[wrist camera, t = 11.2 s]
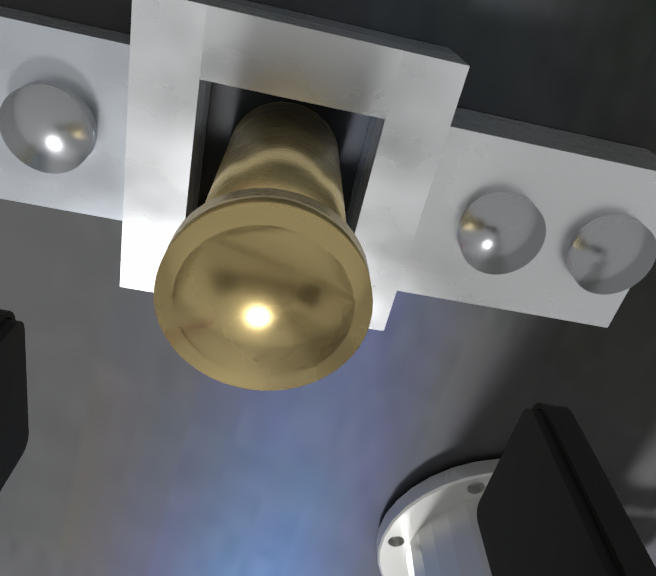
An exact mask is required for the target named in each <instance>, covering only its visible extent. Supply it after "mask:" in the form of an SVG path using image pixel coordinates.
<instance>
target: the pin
mask: <svg viewBox="0 0 656 576" xmlns="http://www.w3.org/2000/svg"><path fill="white" fill-rule="evenodd" d="M154 305H155V312H156V315H157V318H158V322H159V325H160V327H161V329H162V331H163V333H164V335H165V337H166V338H167V340H168V341H169V343H170V344H171V346H172V347H173V348H174V349H175V350H176V351H177V353H178V354H179V355H180V356H181V357H182V358H183V359H185V360H186V361H187V362H188V363H189V364H190V365H192V366H193V367H195V368H196V369H197V370H199V371H200V372H202V373H204V374H206V375H207V376H209V377H211V378H213V379H216V380H218V381H220V382H223V383H226V384H229V385H232V386H236V387H240V388H245V389H252V390H284V389H290V388H295V387H300V386H303V385H306V384H310V383H312V382H315V381H317V380H319V379H322V378H324V377H325V376H327V375H329V374H330V373H332V372H334V371H335V370H337V369H338V368H339V367H341V366H342V365H343V364H344V363H345V362H346V361H347V360H348V359H349V358H350V357H351V356H352V355H353V354H354V353H355V351H356V350H357V349H358V348H359V346H360V345H361V343H362V341H363V339H364V338H365V336H366V333H367V331H368V328H369V326H370V321H371V317H372V310H373V295H372V286H371V280H370V274H369V268H368V263H367V259H366V255H365V253H364V251H363V248H362V246H361V244H360V242H359V240H358V238H357V237H356V235H355V233H354V232H353V231H352V230H351V228H350V227H349V226H348V225H347V223H346V216H345V207H344V198H343V189H342V179H341V170H340V161H339V152H338V145H337V141H336V138H335V136H334V133H333V132H332V130H331V128H330V126H329V125H328V124H327V122H326V121H325V120H324V119H323V118H322V117H321V116H320V115H319V114H317V113H316V112H315V111H313V110H311V109H310V108H308V107H306V106H303V105H301V104H297V103H294V102H287V101H277V102H270V103H267V104H263V105H261V106H258V107H256V108H255V109H253V110H251V111H250V112H249V113H247V114H246V115H245V116H244V117H243V118H242V119H241V120H240V122H239V123H238V124H237V126H236V128H235V129H234V131H233V134H232V136H231V139H230V141H229V144H228V146H227V149H226V151H225V154H224V156H223V159H222V161H221V164H220V166H219V169H218V172H217V174H216V177H215V179H214V182H213V184H212V187H211V189H210V192H209V194H208V197H207V199H206V202H205V204H203V205H201V206H200V207H199V208H197V209H196V210H195V211H193V212H192V213H191V214H190V215H189V216H188V217H187V218H186V219H185V220H184V221H183V222H182V223H181V225H180V226H179V227H178V229H177V230H176V232H175V233H174V235H173V237H172V239H171V241H170V243H169V245H168V247H167V250H166V252H165V254H164V256H163V258H162V260H161V263H160V265H159V268H158V271H157V274H156V278H155V284H154Z"/></svg>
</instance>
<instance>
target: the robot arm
mask: <svg viewBox="0 0 656 576" xmlns="http://www.w3.org/2000/svg"><path fill="white" fill-rule="evenodd" d="M28 434H29V429H28V404H27V378H26V353H25V329H24V324H23V322H21V321H16V320H15V316H14V314H13V312H11V311H7V310H1V309H0V491H1V489H2V487H3V486H4V484H5V482H6V481H7V479H8V478H9V476H10V474H11V473H12V471H13V469H14V468H15V466H16V464H17V463H18V461H19V459H20V458H21V456H22V454H23V452H24V450H25V448H26V445H27V441H28ZM376 546H377V558H378V565H379V568H380V572H381V575H382V576H656V567H655V566H654V564H653V562H652V560H651V558H650V556H649V554H648V553H647V551H646V549H645V547H644V545H643V543H642V541H641V540H640V538H639V536H638V534H637V532H636V530H635V529H634V527H633V525H632V523H631V521H630V519H629V517H628V516H627V514H626V512H625V510H624V508H623V506H622V504H621V503H620V501H619V499H618V497H617V495H616V493H615V491H614V490H613V488H612V486H611V484H610V482H609V480H608V478H607V477H606V475H605V473H604V471H603V469H602V467H601V465H600V464H599V462H598V460H597V458H596V456H595V454H594V452H593V451H592V449H591V447H590V445H589V443H588V441H587V439H586V438H585V436H584V434H583V432H582V430H581V428H580V426H579V425H578V423H577V421H576V419H575V417H574V415H573V414H572V412H571V411H570V409H568V408H566V407H560V406H555V405H549V404H543V403H537V404H535V405H534V406H533V407H532V409H526V410H525V411H524V412H523V413H522V415H521V417H520V419H519V421H518V423H517V425H516V427H515V429H514V431H513V433H512V435H511V437H510V440H509V442H508V444H507V446H506V448H505V450H504V452H503V454H502V456H501V458H500V459H492V460H484V461H477V462H472V463H468V464H464V465H461V466H457V467H453V468H450V469H448V470H445V471H443V472H441V473H438V474H436V475H433V476H431V477H429V478H428V479H426V480H424V481H423V482H421V483H419V484H417V485H416V486H414V487H412V488H411V489H410V490H409V491H408V492H406V493H405V494H404V495H403V496H402V497H400V498H399V499H398V500H397V501H396V502H395V503H394V505H393V506H392V507H391V508H390V509H389V511H388V512H387V513H386V514H385V516H384V519H383V521H382V523H381V525H380V527H379V529H378V535H377V541H376Z"/></svg>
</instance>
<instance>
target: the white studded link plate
mask: <svg viewBox="0 0 656 576" xmlns="http://www.w3.org/2000/svg"><path fill="white" fill-rule="evenodd" d="M469 67H470V66H469V65H468V64H467V63H466V62H465V61H464V60H463V59H461V58H460V57H459V56H458V55H457V54H456V53H455V52H454V51H452V50H451V49H450V48H447V47H443V46H439V45H435V44H430V43H426V42H422V41H418V40H413V39H409V38H405V37H401V36H396V35H392V34H388V33H384V32H379V31H375V30H371V29H367V28H362V27H358V26H354V25H350V24H345V23H341V22H337V21H332V20H328V19H324V18H320V17H315V16H311V15H307V14H303V13H298V12H294V11H290V10H286V9H281V8H277V7H273V6H269V5H264V4H260V3H256V2H252V1H247V0H132V13H131V35H130V34H125V33H121V32H116V31H112V30H107V29H103V28H98V27H94V26H89V25H85V24H80V23H76V22H71V21H67V20H62V19H58V18H53V17H49V16H44V15H40V14H35V13H31V12H26V11H22V10H17V9H13V8H8V7H4V6H0V198H1V199H6V200H12V201H17V202H23V203H28V204H34V205H39V206H45V207H50V208H56V209H61V210H67V211H72V212H78V213H83V214H89V215H94V216H100V217H105V218H111V219H116V220H122V221H123V224H122V248H121V271H120V287H125V288H131V289H137V290H143V291H149V292H154V284H155V278H156V274H157V271H158V268H159V265H160V263H161V260H162V258H163V256H164V254H165V252H166V250H167V247H168V245H169V243H170V241H171V239H172V237H173V235H174V233H175V232H176V230H177V229H178V227H179V226H180V225H181V223H182V222H183V221H184V220H185V219H186V218H187V217H188V216H189V215H190V214H191V213H192V212H193V211H195V210H196V209H197V208H198V199H199V190H200V182H201V173H202V164H203V155H204V146H205V137H206V128H207V119H208V110H209V102H210V93H211V84H212V82H214V83H219V84H224V85H228V86H233V87H238V88H242V89H247V90H252V91H256V92H261V93H266V94H270V95H275V96H279V97H284V98H289V99H293V100H298V101H303V102H307V103H312V104H317V105H321V106H326V107H331V108H335V109H340V110H344V111H349V112H354V113H358V114H363V115H368V116H371V118H370V122H369V126H368V130H367V134H366V138H365V142H364V146H363V150H362V154H361V158H360V162H359V165H358V169H357V173H356V177H355V181H354V185H353V189H352V193H351V197H350V201H349V205H348V209H347V213H346V223H347V225H348V226H349V227H350V228H351V230H352V231H353V232H354V233H355V235H356V237H357V238H358V240H359V242H360V244H361V246H362V248H363V251H364V253H365V255H366V259H367V263H368V268H369V274H370V280H371V286H372V295H373V310H372V317H371V321H370V326H369V328H370V329H376V330H382V331H384V328H385V325H386V322H387V319H388V316H389V313H390V310H391V307H392V304H393V301H394V298H395V295H396V291H403V292H408V293H414V294H420V295H425V296H431V297H437V298H442V299H448V300H454V301H459V302H465V303H470V304H476V305H482V306H487V307H493V308H499V309H504V310H510V311H516V312H521V313H527V314H532V315H538V316H544V317H549V318H555V319H561V320H566V321H572V322H578V323H583V324H589V325H594V326H600V327H606V328H608V326H609V324H610V323H611V321H612V319H613V317H614V316H615V314H616V312H617V310H618V308H619V307H620V305H621V303H622V301H623V299H624V298H625V296H626V294H627V292H628V291H629V289H630V287H632V286H634V285H635V284H637V283H638V282H639V281H640V280H642V279H643V278H644V277H645V276H646V275H647V273H648V272H649V271H650V269H651V268H652V266H653V264H654V262H655V259H656V155H655V154H653V153H652V152H650V151H649V150H647V149H644V148H640V147H635V146H631V145H626V144H622V143H617V142H613V141H608V140H604V139H599V138H595V137H590V136H585V135H581V134H576V133H572V132H567V131H563V130H558V129H554V128H549V127H545V126H540V125H536V124H531V123H527V122H522V121H518V120H513V119H509V118H504V117H500V116H495V115H491V114H486V113H482V112H477V111H473V110H468V109H464V108H459V107H457V104H458V101H459V98H460V95H461V92H462V89H463V86H464V82H465V79H466V76H467V73H468V70H469Z"/></svg>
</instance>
